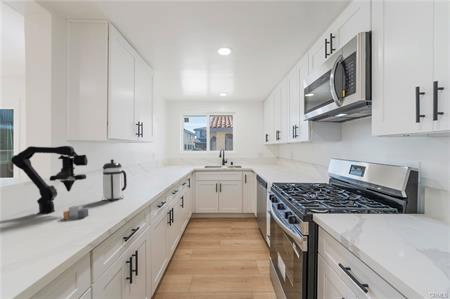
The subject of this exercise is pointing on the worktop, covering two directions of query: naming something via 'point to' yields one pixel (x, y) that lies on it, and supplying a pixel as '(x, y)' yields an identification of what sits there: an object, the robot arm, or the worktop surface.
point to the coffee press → (113, 180)
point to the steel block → (74, 211)
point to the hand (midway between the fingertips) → (68, 191)
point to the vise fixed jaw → (82, 213)
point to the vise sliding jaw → (66, 214)
